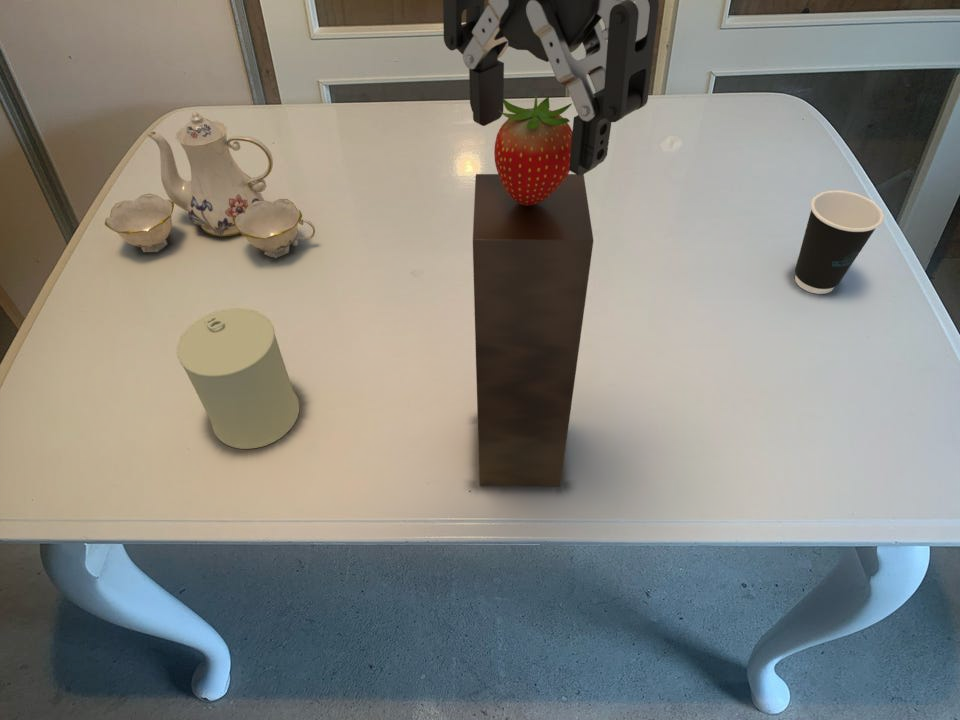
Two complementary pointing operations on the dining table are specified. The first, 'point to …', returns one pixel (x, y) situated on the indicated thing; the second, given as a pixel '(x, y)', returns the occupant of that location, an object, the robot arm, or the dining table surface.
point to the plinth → (527, 327)
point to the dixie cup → (834, 238)
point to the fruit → (533, 151)
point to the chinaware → (209, 195)
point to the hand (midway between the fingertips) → (534, 143)
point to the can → (239, 377)
